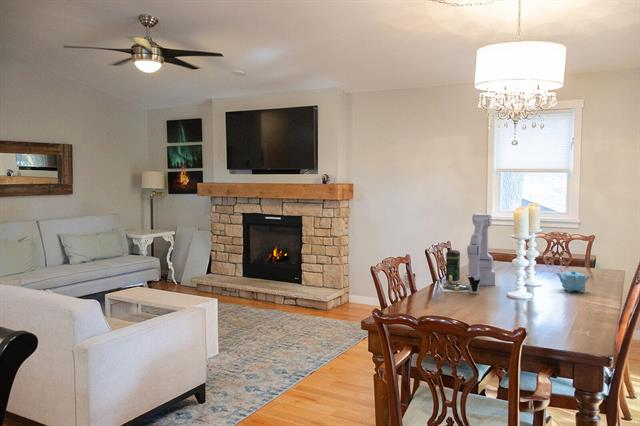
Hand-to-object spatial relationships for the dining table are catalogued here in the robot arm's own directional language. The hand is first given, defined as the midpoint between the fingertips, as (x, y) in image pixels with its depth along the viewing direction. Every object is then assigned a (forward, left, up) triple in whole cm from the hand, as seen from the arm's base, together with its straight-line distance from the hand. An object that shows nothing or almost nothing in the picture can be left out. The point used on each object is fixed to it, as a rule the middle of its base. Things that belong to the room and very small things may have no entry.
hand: (473, 290), depth 287 cm
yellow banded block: (0, 0, -1) cm, 1 cm away
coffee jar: (+5, -41, -2) cm, 41 cm away
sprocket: (+7, -12, -1) cm, 14 cm away
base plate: (+7, -12, -1) cm, 14 cm away
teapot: (-55, -8, -2) cm, 56 cm away
